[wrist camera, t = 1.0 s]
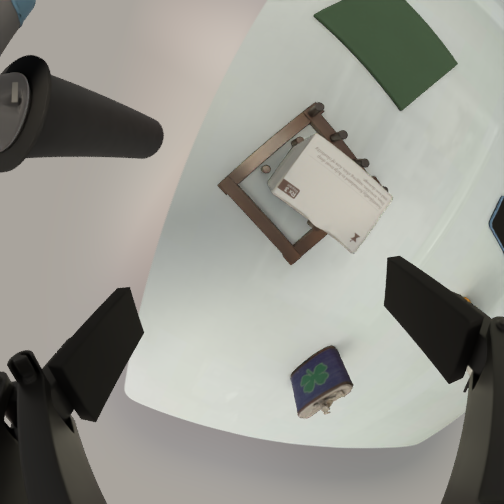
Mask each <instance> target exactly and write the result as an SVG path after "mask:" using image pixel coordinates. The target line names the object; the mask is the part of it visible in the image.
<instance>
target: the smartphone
mask: <svg viewBox="0 0 504 504" xmlns="http://www.w3.org/2000/svg"><path fill="white" fill-rule="evenodd" d="M489 225H490V228H491V230H492V232H493V233H494V235H495V237H496V239H497V240H498V242H499V244H500V246H501V248H502V250H503V252H504V196H502V197H501V199H500V201H499V203H498V205H497V207H496V209H495V211H494V214H493V216H492V218H491V220H490V223H489Z"/></svg>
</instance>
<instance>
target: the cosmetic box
mask: <svg viewBox="0 0 504 504" xmlns="http://www.w3.org/2000/svg"><path fill="white" fill-rule="evenodd" d="M267 184H268V186H269V188H270V190H271V192H272V193H273V194H274V195H275V196H277V197H278V198H280V199H281V200H282V201H284V202H285V203H287V204H288V205H289V206H291V207H292V208H293V209H295V210H296V211H297V212H299V213H300V214H301V215H303V216H304V217H305V218H307V219H308V220H310V222H311V223H312V224H314V225H315V226H316V227H318V228H319V229H322V230H324V231H325V232H326V233H328V234H329V235H330V236H332V237H333V238H334V239H336V240H337V241H338V242H339V243H340V244H341V245H343V246H344V247H345V248H346V249H347V250H348V251H349V252H350V253H352V254H354V253H355V252H356V251H357V249H358V248H359V246H360V245H361V244H362V243H363V241H364V240H365V239H366V237H367V236H368V234H369V233H370V231H371V230H372V229H373V227H374V226H375V224H376V223H377V221H378V220H379V218H380V217H381V215H382V214H383V213H384V211H385V210H386V208H387V207H388V206H389V204H390V203H391V201H392V200H393V197H392V196H391V195H390V194H389V193H388V192H387V191H386V190H385V189H384V188H383V187H382V186H381V185H380V184H379V183H378V182H377V181H376V180H374V179H373V178H372V177H371V176H370V175H369V174H368V173H367V172H366V171H365V170H363V169H362V168H361V167H360V166H359V165H358V164H356V163H355V162H354V161H353V160H352V159H350V158H349V157H348V156H347V155H345V154H344V153H343V152H342V151H340V150H339V149H338V148H337V147H335V146H334V145H333V144H331V143H330V142H329V141H327V140H326V139H325V138H323V137H322V136H320V135H319V134H318V133H315V134H313V135H312V136H310V137H308V138H306V139H305V140H304V141H302V142H300V143H299V144H297V145H296V146H294V147H293V148H292V149H291V150H290V152H289V153H288V154H287V156H286V157H285V158H284V160H283V161H282V163H281V164H280V165H279V167H278V168H277V169H276V171H275V172H274V174H273V175H272V176H271V178H270V179H269V181H268V182H267Z"/></svg>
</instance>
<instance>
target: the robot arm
mask: <svg viewBox="0 0 504 504" xmlns="http://www.w3.org/2000/svg"><path fill="white" fill-rule="evenodd" d="M35 2H36V0H0V56H1V54H2V52H3V51H4V49H5V48H6V46H7V45H8V43H9V42H10V40H11V39H12V37H13V35H14V34H15V33H16V31H17V30H18V29H19V28H20V27H21V26H22V24H23V21H24V20H25V19H26V17H27V16H28V15H29V13H30V12H31V10H32V9H33V8H34V6H35ZM32 95H33V91H32V84H31V81H30V79H29V77H28V76H27V75H25V74H22V73H18V72H12V73H7V74H2V75H0V152H4V151H6V150H8V149H9V148H11V147H12V146H13V145H14V144H15V142H16V141H17V140H18V138H19V136H20V135H21V133H22V131H23V129H24V127H25V125H26V122H27V119H28V116H29V113H30V109H31V104H32ZM384 306H385V307H386V309H387V310H388V311H389V312H390V313H391V314H392V315H393V317H394V318H395V319H396V320H397V321H398V322H399V323H400V325H401V326H402V327H403V328H404V329H405V330H406V332H407V333H408V334H409V335H410V336H411V337H412V339H413V340H414V341H415V342H416V343H417V345H418V346H419V347H420V348H421V350H422V351H423V352H424V353H425V354H426V356H427V357H428V358H429V359H430V361H431V362H432V363H433V364H434V366H435V367H436V368H437V369H438V371H439V372H440V373H441V374H442V376H443V377H444V378H445V380H446V381H447V382H448V384H450V383H453V382H455V381H457V380H459V379H461V378H463V376H464V374H465V372H466V369H467V367H468V366H469V367H470V368H471V369H472V370H473V371H472V373H471V375H470V378H469V380H468V382H467V384H466V386H465V389H464V391H463V392H466V390H467V388H469V390H468V398H467V406H466V413H465V419H464V424H463V430H462V435H461V439H460V444H459V448H458V452H457V456H456V460H455V463H454V467H453V470H452V474H451V477H450V480H449V483H448V486H447V489H446V492H445V494H444V497H443V500H442V502H441V504H504V317H494V318H492V319H491V318H490V317H489V316H487V315H486V314H485V313H484V312H482V311H481V310H480V309H478V308H477V307H476V306H473V304H472V303H470V302H469V301H467V300H466V299H465V298H464V297H462V296H461V295H459V294H457V293H454V292H452V291H450V290H449V289H447V288H446V287H444V286H443V285H442V284H440V283H439V282H437V281H436V280H435V279H433V278H432V277H430V276H429V275H427V274H426V273H425V272H423V271H422V270H420V269H419V268H417V267H416V266H414V265H413V264H411V263H410V262H408V261H407V260H405V259H404V258H402V257H401V256H396V257H389V258H387V275H386V289H385V300H384ZM143 334H144V331H143V328H142V325H141V322H140V319H139V316H138V313H137V310H136V307H135V303H134V300H133V297H132V293H131V290H130V287H126V288H117V289H116V290H115V291H114V292H113V293H112V294H111V295H110V296H109V297H108V299H106V301H105V302H104V303H103V304H102V305H101V306H100V307H99V308H98V309H97V310H96V311H95V312H94V313H93V314H92V315H91V316H90V318H89V319H88V320H87V321H86V322H85V323H84V324H83V325H82V326H81V327H80V328H79V329H78V330H77V332H76V333H75V334H74V335H73V336H72V337H71V338H69V339H68V340H67V341H66V342H65V343H64V344H63V345H62V346H61V347H62V348H60V349H59V350H58V351H57V353H55V355H54V356H53V357H52V358H51V359H50V360H49V361H48V363H47V364H46V365H45V366H44V367H43V369H41V367H40V365H39V363H38V361H37V360H36V358H35V356H34V354H33V352H32V351H28V350H25V351H21V352H19V353H17V354H15V355H14V356H13V357H11V359H10V360H9V361H8V364H7V366H8V367H9V369H10V371H11V373H12V374H13V376H14V378H15V379H16V381H15V382H11V381H10V379H9V377H8V376H7V374H6V373H5V372H0V504H107V503H106V501H105V499H104V497H103V495H102V493H101V490H100V488H99V486H98V484H97V482H96V479H95V477H94V475H93V472H92V470H91V467H90V465H89V462H88V459H87V457H86V454H85V451H84V448H83V445H82V442H81V439H80V437H79V433H78V430H77V427H76V423H75V420H74V419H73V417H72V416H71V413H72V412H73V410H74V409H75V411H76V412H77V414H78V415H79V416H80V418H81V419H83V420H88V421H93V422H96V421H97V419H98V417H99V415H100V413H101V411H102V409H103V407H104V405H105V403H106V401H107V399H108V397H109V396H110V393H111V392H112V390H113V388H114V386H115V384H116V382H117V380H118V379H119V377H120V375H121V373H122V371H123V369H124V367H125V366H126V364H127V362H128V360H129V358H130V357H131V355H132V353H133V351H134V350H135V348H136V346H137V344H138V342H139V341H140V339H141V337H142V335H143ZM4 416H6V417H7V418H8V419H9V421H10V422H11V423H12V424H11V427H9V426H8V425H7V424H6V423H5V421H4Z"/></svg>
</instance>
